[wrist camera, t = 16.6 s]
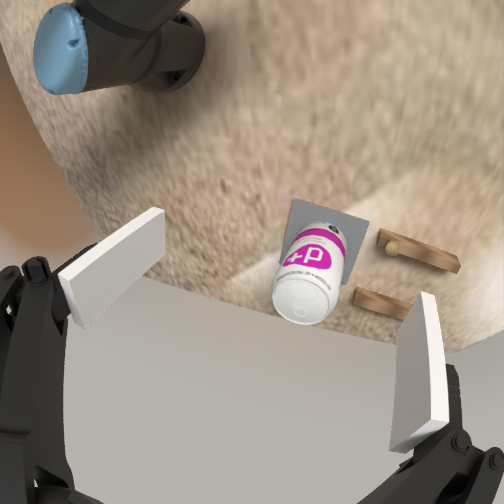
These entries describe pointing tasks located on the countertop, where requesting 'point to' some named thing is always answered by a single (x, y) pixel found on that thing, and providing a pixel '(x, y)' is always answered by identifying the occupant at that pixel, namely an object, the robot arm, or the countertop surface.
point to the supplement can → (310, 274)
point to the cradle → (411, 249)
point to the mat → (345, 223)
